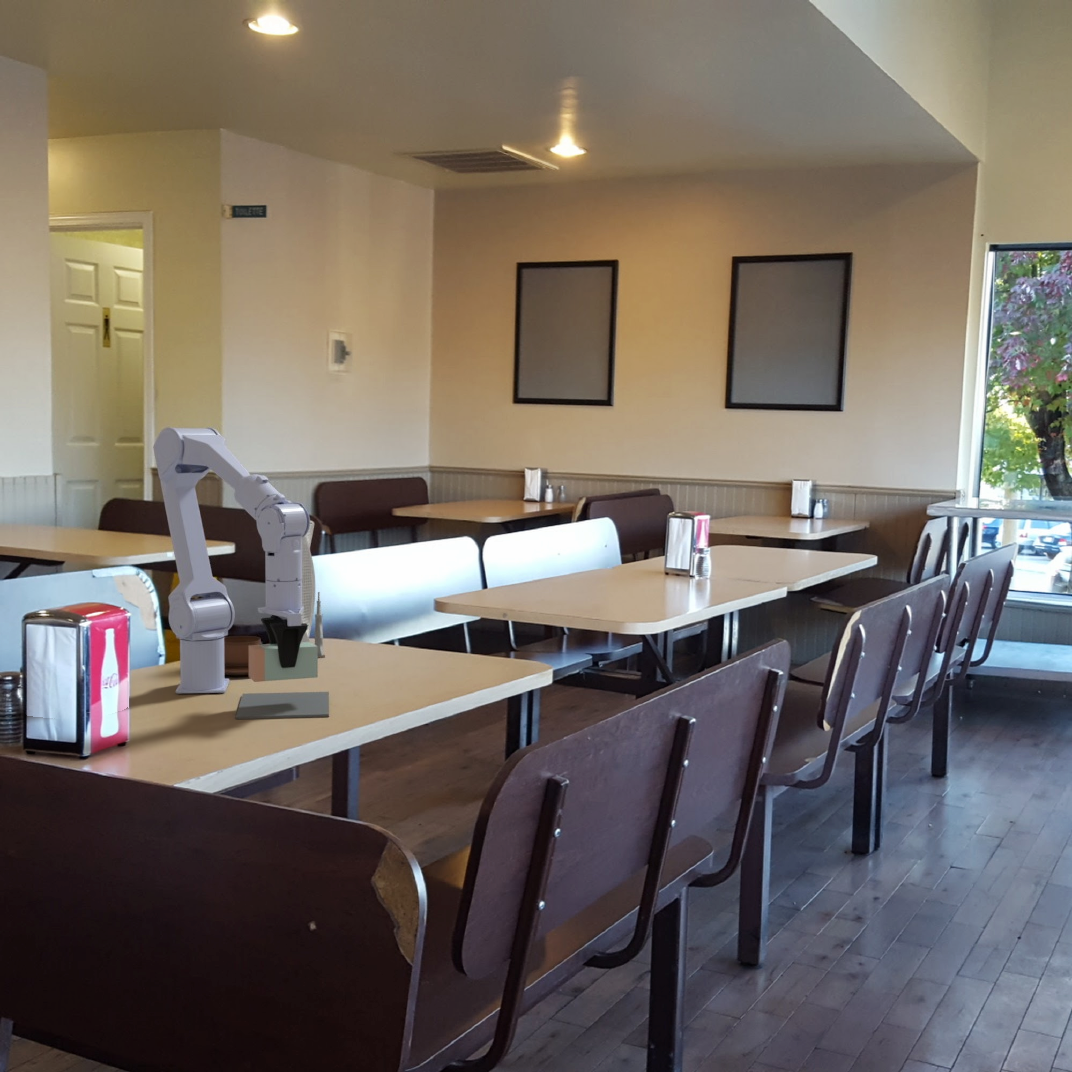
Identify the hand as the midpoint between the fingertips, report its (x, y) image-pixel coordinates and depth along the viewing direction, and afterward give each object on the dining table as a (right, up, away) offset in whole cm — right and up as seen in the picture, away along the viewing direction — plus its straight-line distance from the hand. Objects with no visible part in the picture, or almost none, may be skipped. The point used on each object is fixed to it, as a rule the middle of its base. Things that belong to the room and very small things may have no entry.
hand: (284, 664), depth 194 cm
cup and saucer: (-13, -5, +27) cm, 30 cm away
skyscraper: (-6, -3, +43) cm, 44 cm away
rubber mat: (0, -7, +1) cm, 7 cm away
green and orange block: (0, -2, 0) cm, 2 cm away
